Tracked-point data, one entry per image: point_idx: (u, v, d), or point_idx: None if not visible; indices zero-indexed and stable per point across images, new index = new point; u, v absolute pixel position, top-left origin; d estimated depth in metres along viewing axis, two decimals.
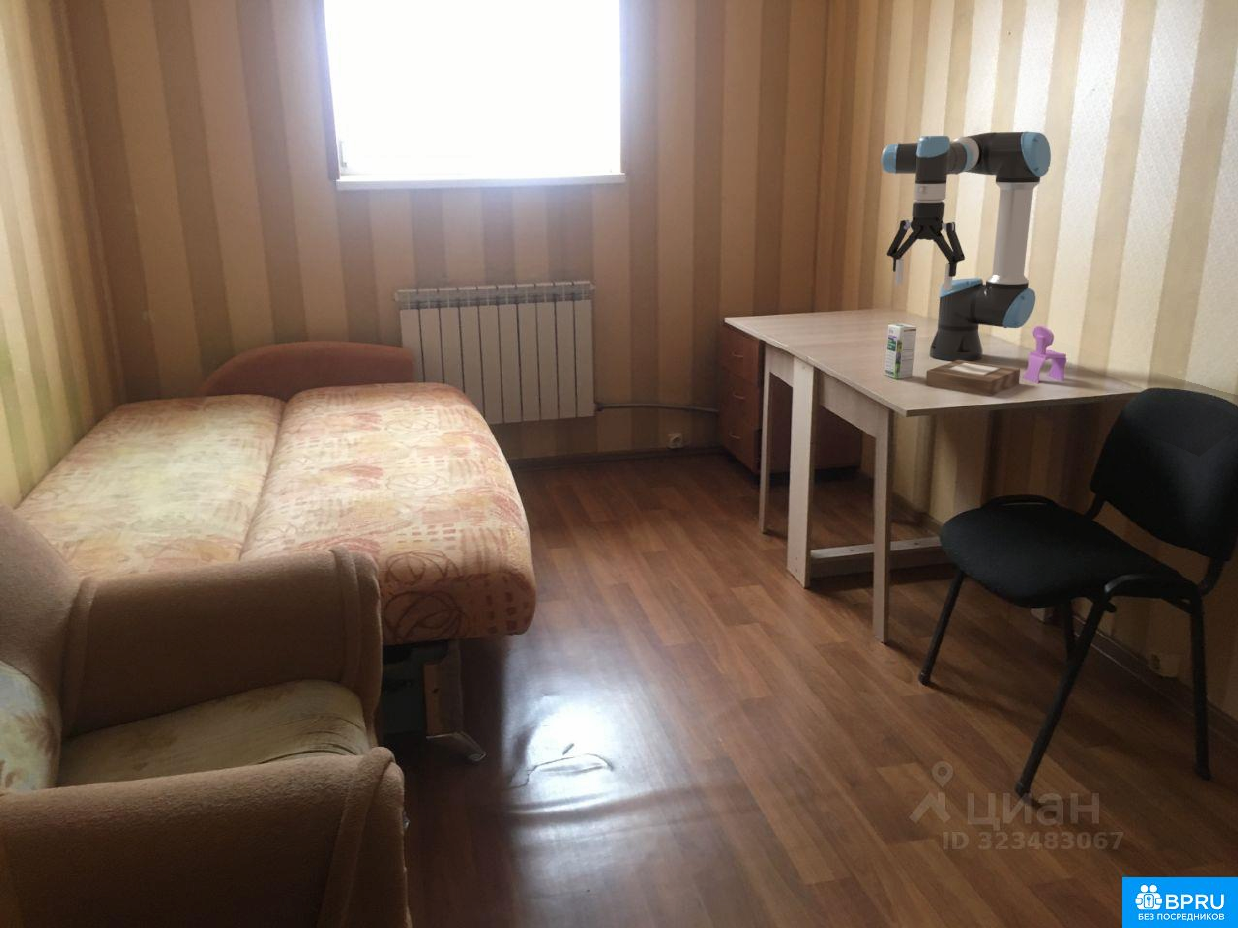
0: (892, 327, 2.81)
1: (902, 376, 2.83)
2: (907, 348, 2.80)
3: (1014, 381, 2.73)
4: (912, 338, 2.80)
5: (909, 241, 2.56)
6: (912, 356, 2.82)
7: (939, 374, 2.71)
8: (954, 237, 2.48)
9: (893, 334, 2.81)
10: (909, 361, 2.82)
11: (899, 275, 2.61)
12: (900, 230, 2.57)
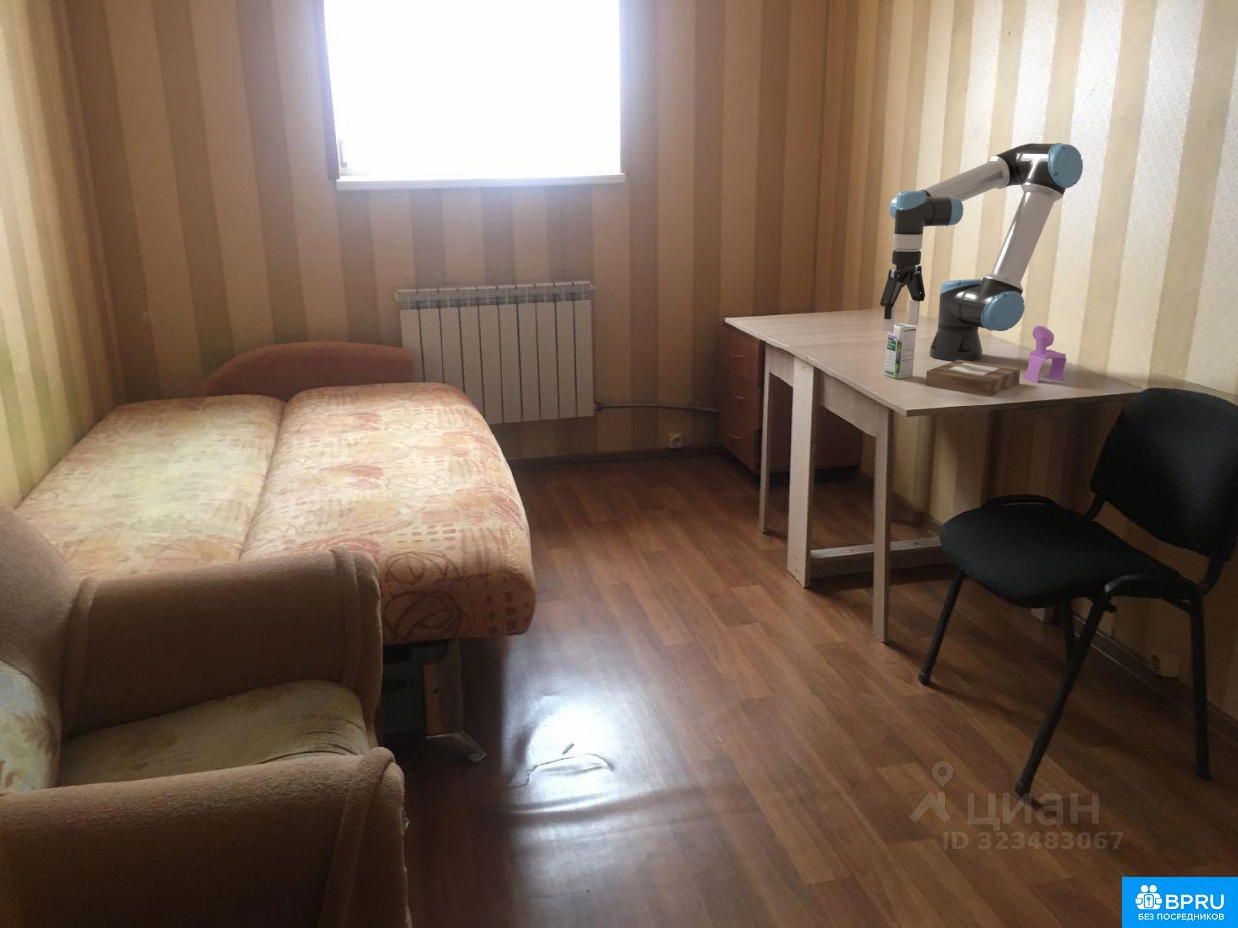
0: None
1: (902, 376, 2.83)
2: (907, 348, 2.80)
3: (1014, 381, 2.73)
4: (912, 338, 2.80)
5: None
6: (912, 356, 2.82)
7: (939, 374, 2.71)
8: (888, 283, 2.72)
9: (893, 334, 2.81)
10: (909, 361, 2.82)
11: (911, 315, 2.85)
12: None
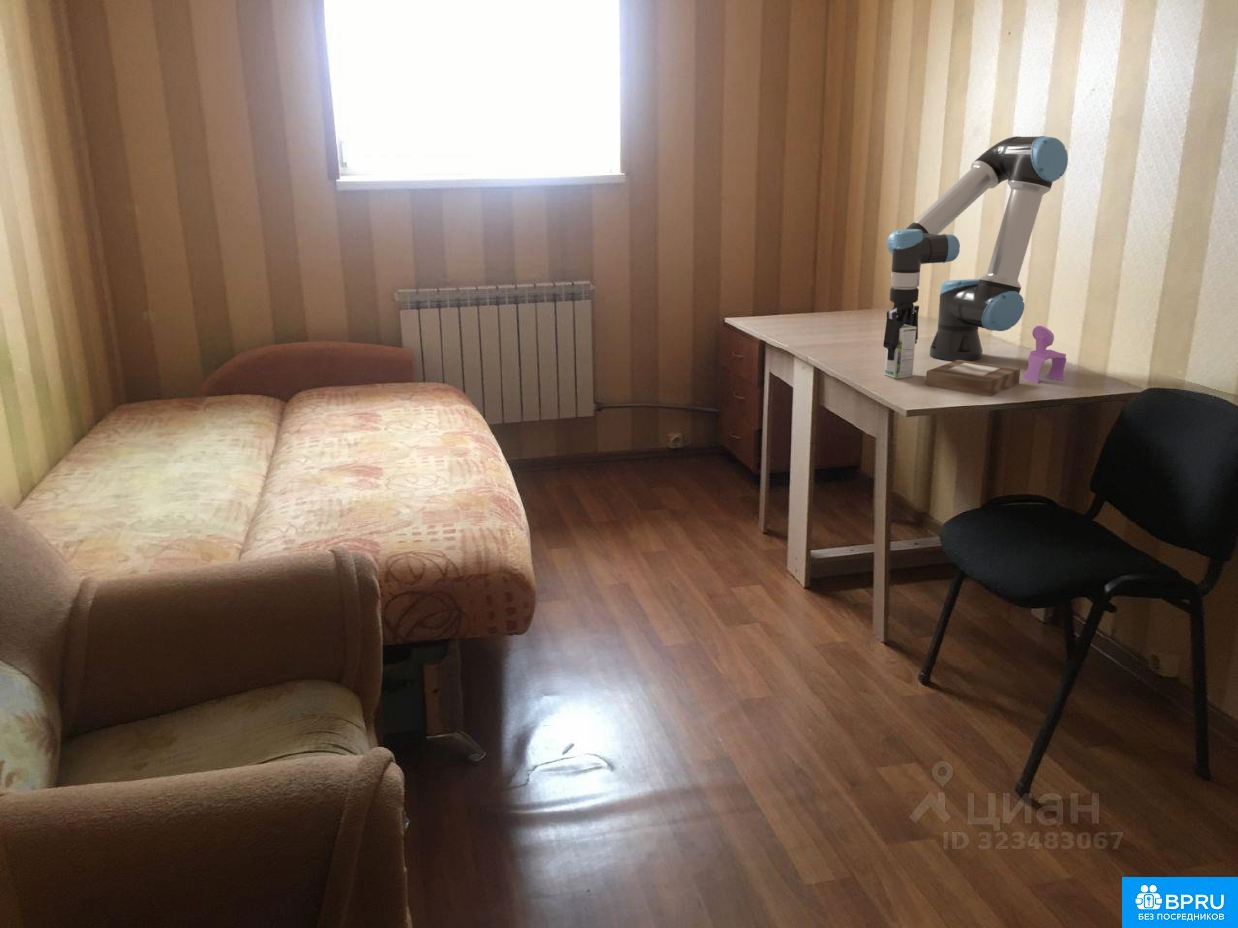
0: None
1: (902, 376, 2.83)
2: (907, 348, 2.80)
3: (1014, 381, 2.73)
4: (912, 338, 2.80)
5: None
6: (912, 356, 2.82)
7: (939, 374, 2.71)
8: (888, 325, 2.77)
9: None
10: (909, 361, 2.82)
11: None
12: None
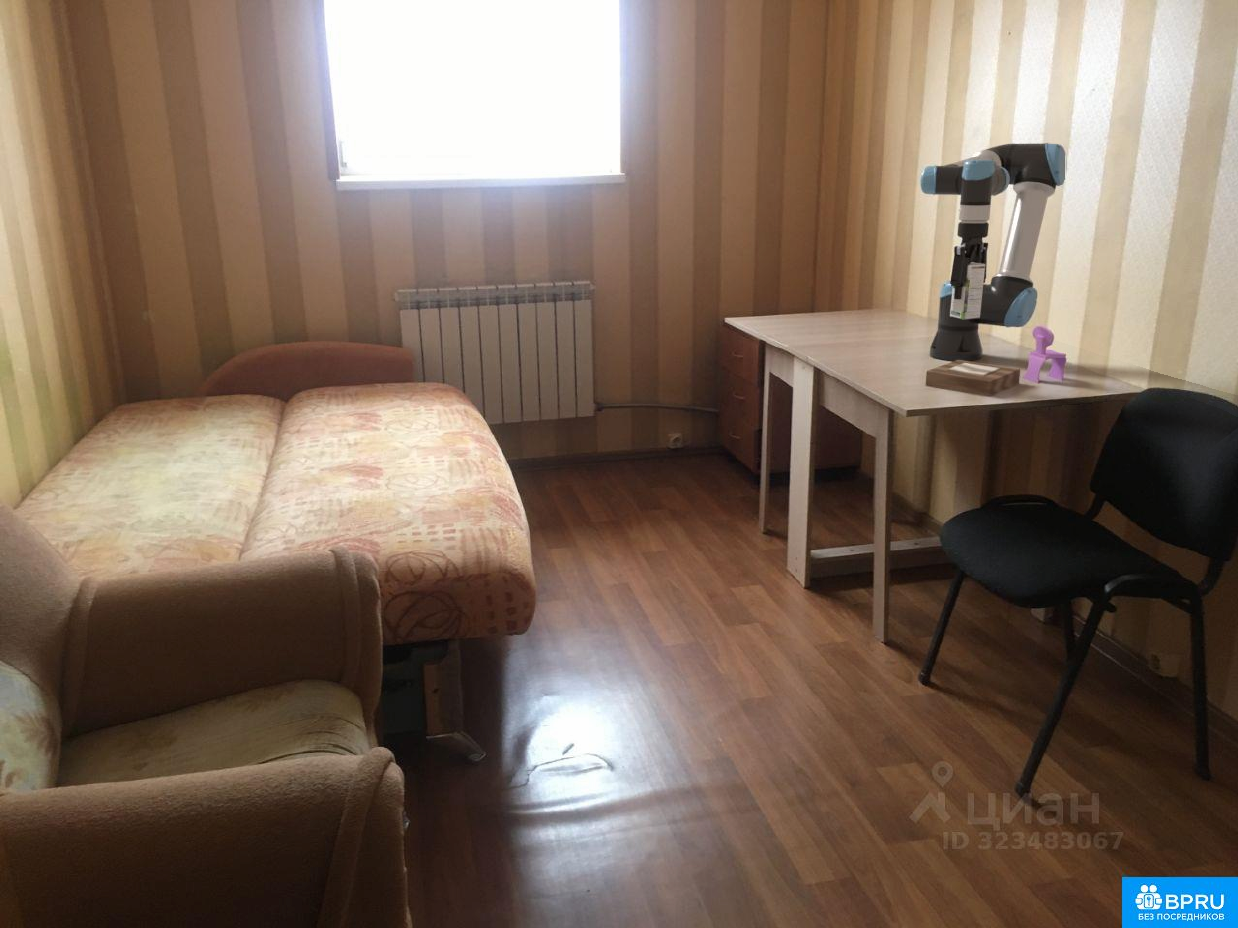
0: None
1: (969, 317, 2.68)
2: (975, 286, 2.66)
3: (1014, 381, 2.73)
4: (981, 276, 2.65)
5: None
6: (980, 295, 2.67)
7: (939, 374, 2.71)
8: (956, 261, 2.62)
9: None
10: (977, 301, 2.67)
11: None
12: None
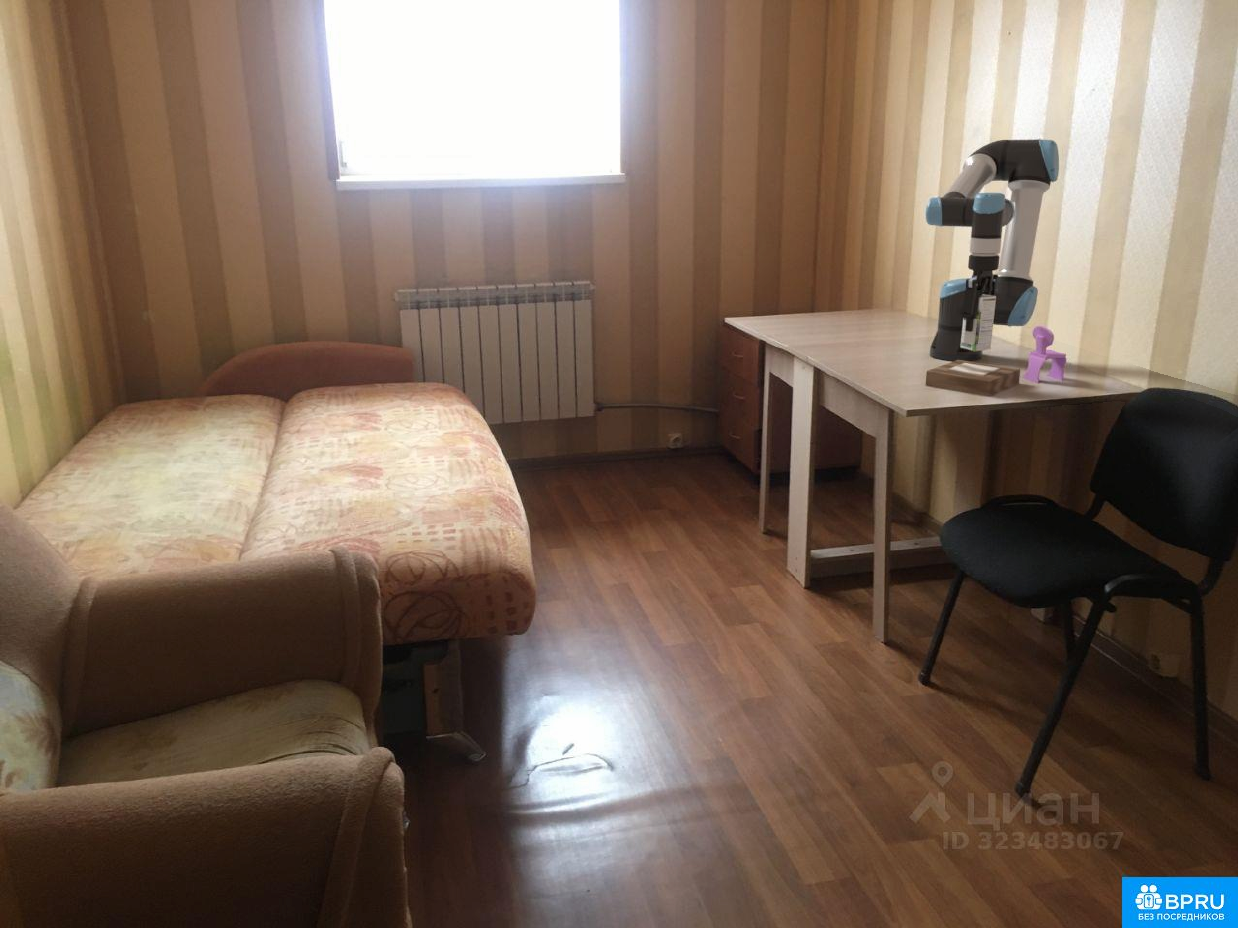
0: None
1: (980, 348, 2.69)
2: (986, 318, 2.67)
3: (1014, 381, 2.73)
4: (992, 308, 2.66)
5: None
6: (991, 327, 2.68)
7: (939, 374, 2.71)
8: (967, 294, 2.63)
9: None
10: (988, 332, 2.68)
11: None
12: None
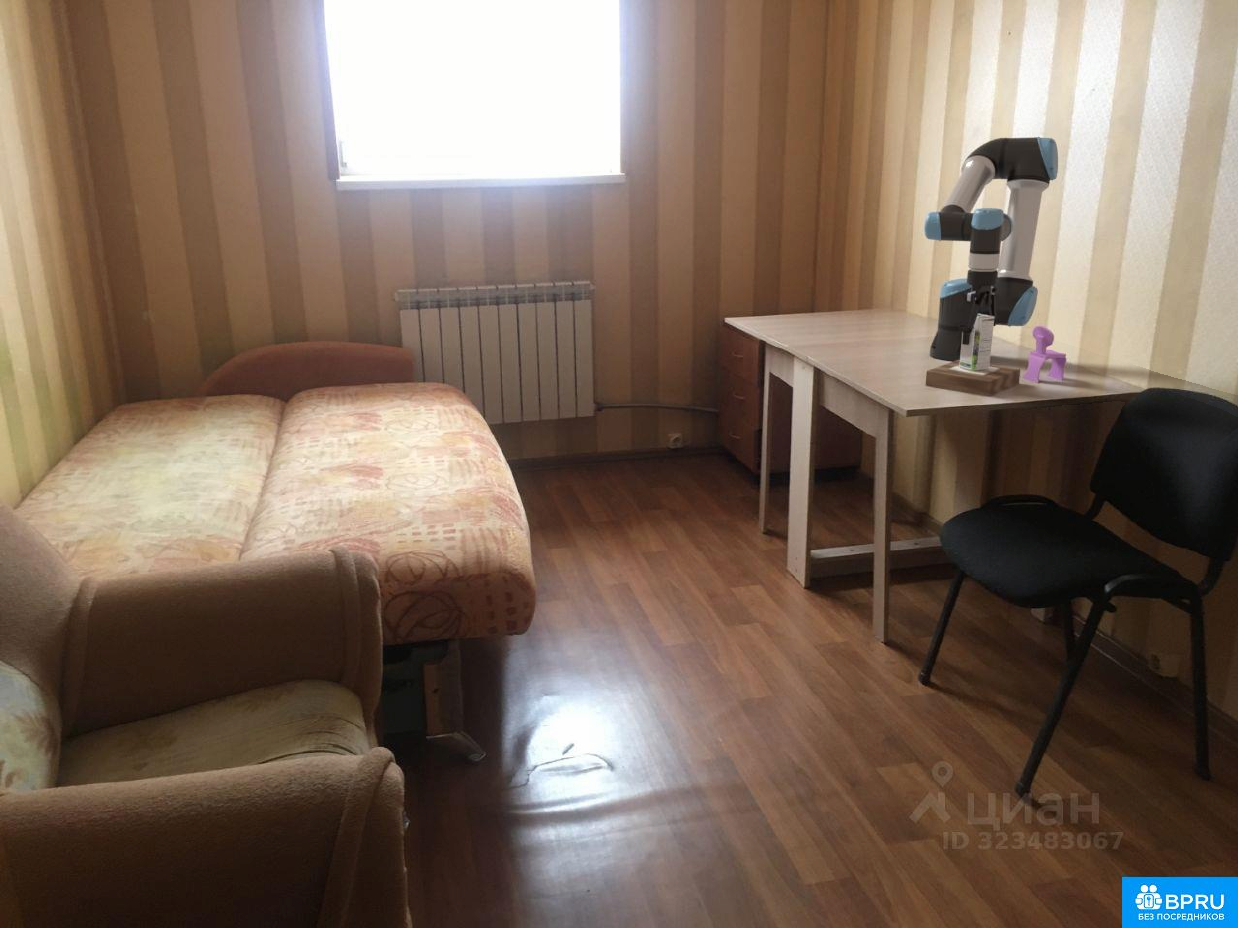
0: None
1: (979, 368, 2.71)
2: (985, 338, 2.69)
3: (1014, 381, 2.73)
4: (990, 328, 2.69)
5: None
6: (989, 347, 2.70)
7: (939, 374, 2.71)
8: (965, 307, 2.64)
9: None
10: (987, 352, 2.70)
11: None
12: None
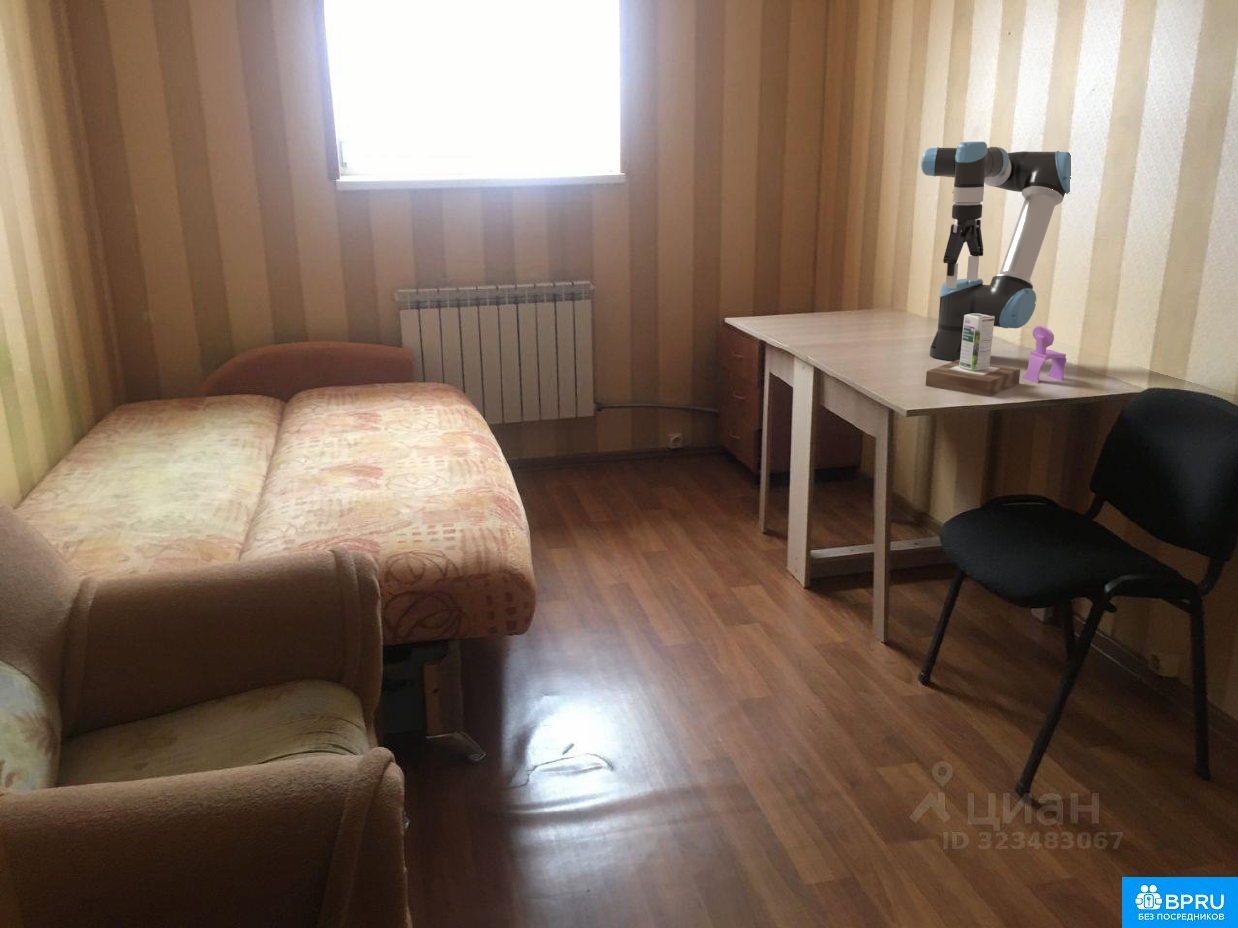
0: (969, 317, 2.69)
1: (979, 368, 2.71)
2: (985, 338, 2.69)
3: (1014, 381, 2.73)
4: (990, 328, 2.69)
5: None
6: (989, 347, 2.70)
7: (939, 374, 2.71)
8: (951, 239, 2.64)
9: (970, 324, 2.69)
10: (987, 352, 2.70)
11: (970, 271, 2.77)
12: None
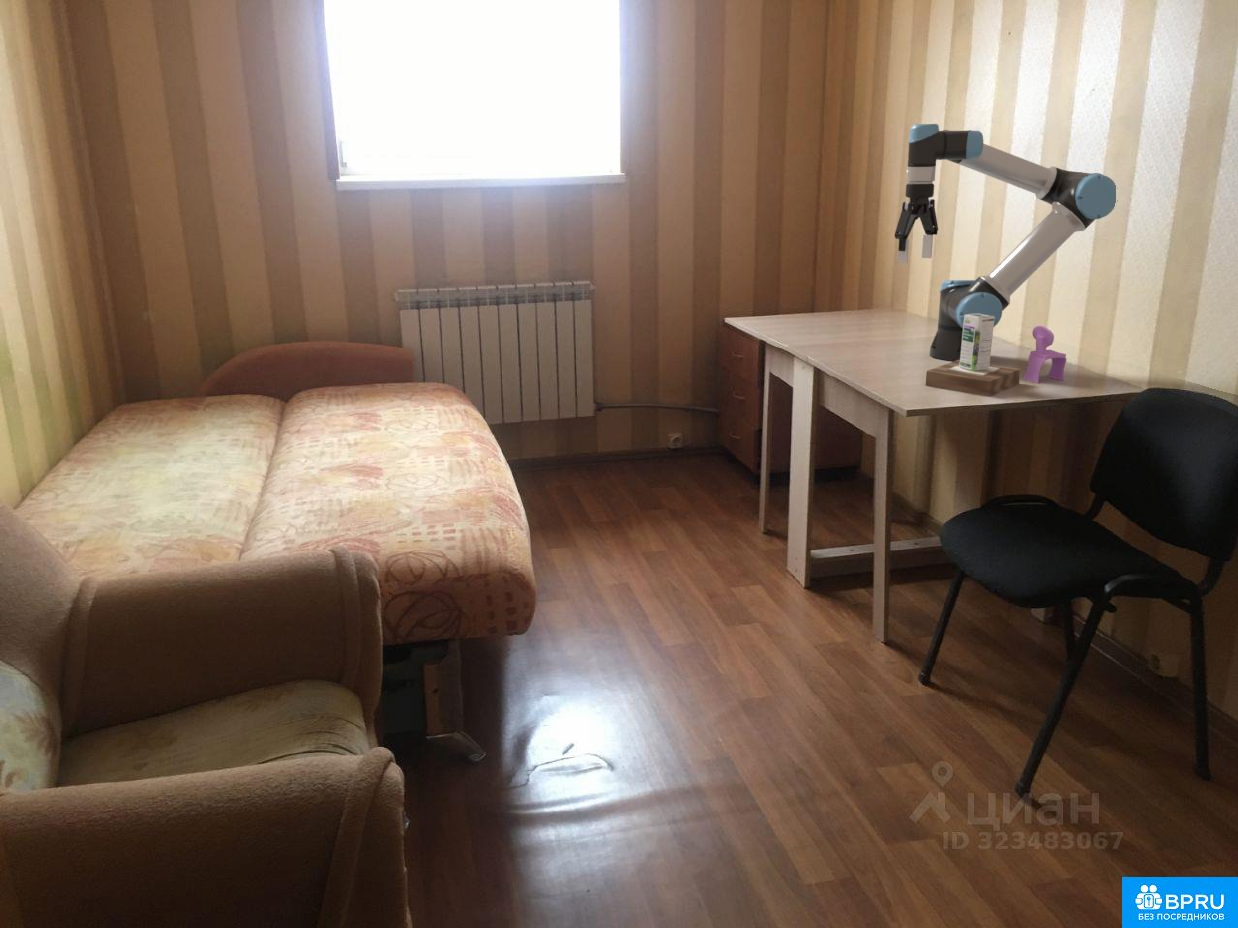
0: (969, 317, 2.69)
1: (979, 368, 2.71)
2: (985, 338, 2.69)
3: (1014, 381, 2.73)
4: (990, 328, 2.69)
5: None
6: (989, 347, 2.70)
7: (939, 374, 2.71)
8: (902, 215, 2.78)
9: (970, 324, 2.69)
10: (987, 352, 2.70)
11: (925, 249, 2.90)
12: None
